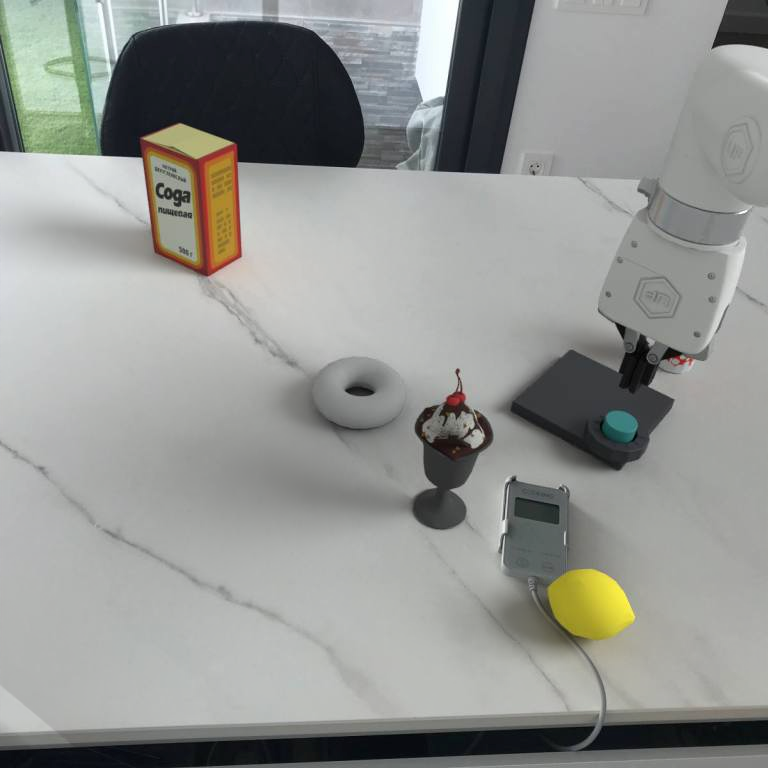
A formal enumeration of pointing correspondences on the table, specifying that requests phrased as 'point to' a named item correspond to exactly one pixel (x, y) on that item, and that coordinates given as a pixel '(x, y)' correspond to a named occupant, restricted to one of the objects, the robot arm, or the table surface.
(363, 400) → the donut
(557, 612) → the lemon
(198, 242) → the baking soda box
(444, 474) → the sundae
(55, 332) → the table surface
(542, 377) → the scale
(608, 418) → the button
